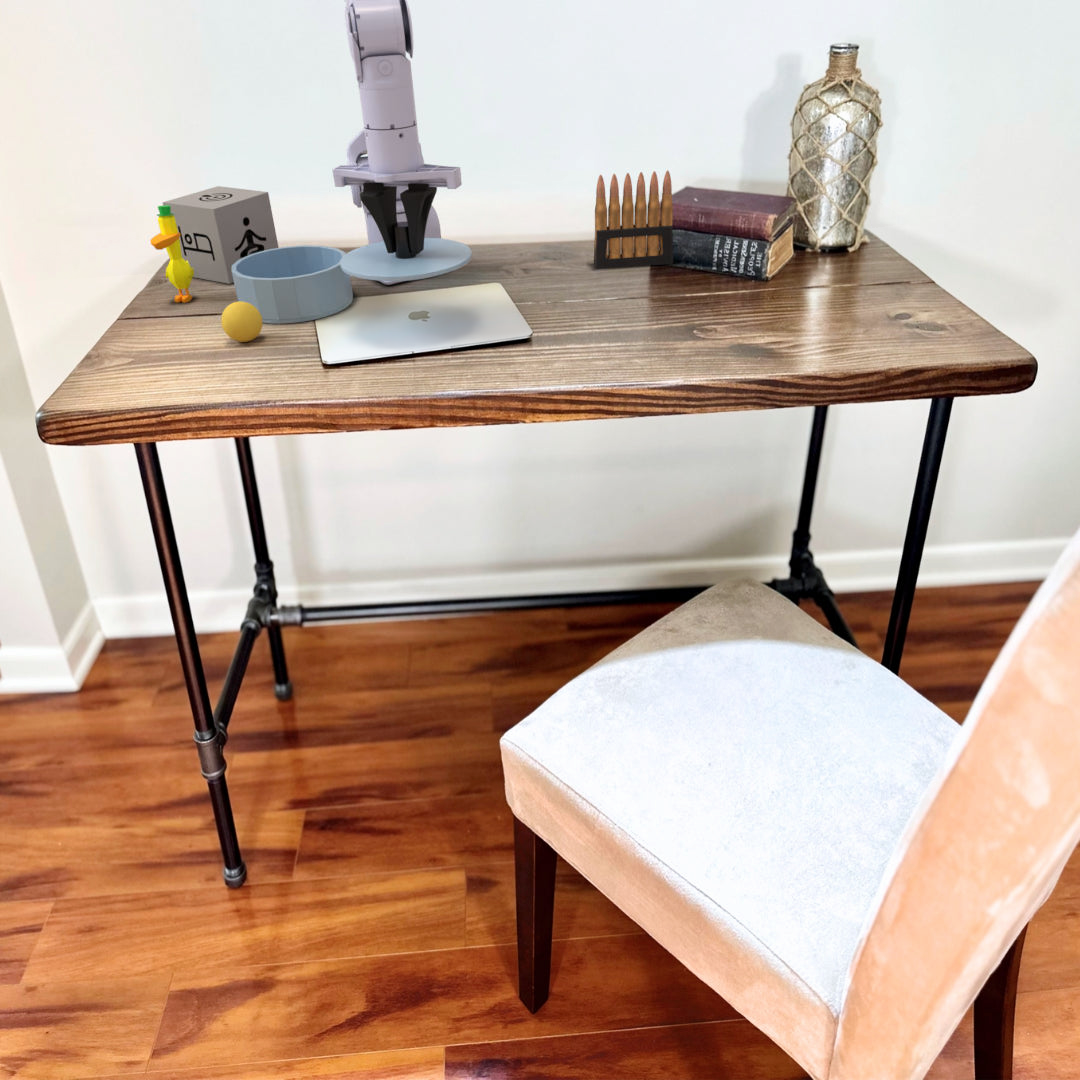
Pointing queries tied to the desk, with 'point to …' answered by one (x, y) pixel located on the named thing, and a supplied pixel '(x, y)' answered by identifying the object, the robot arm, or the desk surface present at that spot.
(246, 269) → the pot
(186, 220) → the icon cube
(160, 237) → the toy figure
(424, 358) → the desk surface
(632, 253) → the ammunition clip
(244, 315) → the ball
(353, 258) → the lid
